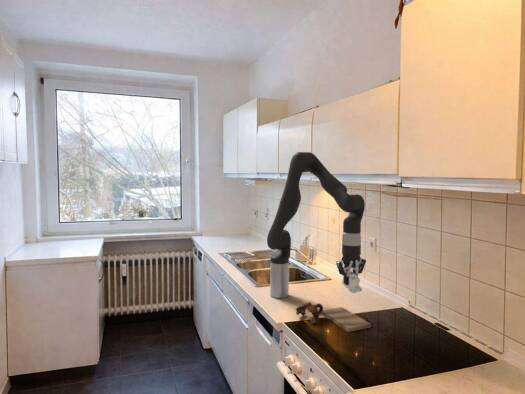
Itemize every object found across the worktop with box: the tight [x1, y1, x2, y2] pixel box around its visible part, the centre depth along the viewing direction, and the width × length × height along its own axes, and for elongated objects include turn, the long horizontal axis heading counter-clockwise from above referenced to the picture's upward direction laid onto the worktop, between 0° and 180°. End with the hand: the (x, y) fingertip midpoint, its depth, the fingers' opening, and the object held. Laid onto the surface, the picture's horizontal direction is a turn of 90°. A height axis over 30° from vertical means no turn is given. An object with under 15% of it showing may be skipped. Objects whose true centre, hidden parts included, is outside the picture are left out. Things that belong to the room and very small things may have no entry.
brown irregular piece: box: [295, 301, 324, 325], centre depth 162 cm, size 12×10×8 cm
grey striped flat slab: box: [320, 306, 372, 333], centre depth 160 cm, size 20×11×2 cm, turn 23°
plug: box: [341, 270, 363, 294], centre depth 155 cm, size 11×4×6 cm, turn 23°
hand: (350, 284), depth 156 cm, fingers closed on plug, 3 cm apart
